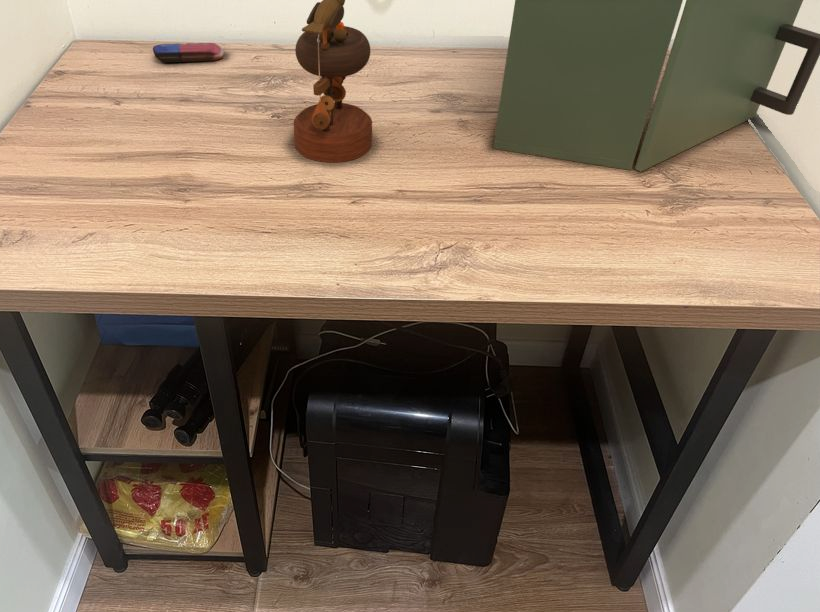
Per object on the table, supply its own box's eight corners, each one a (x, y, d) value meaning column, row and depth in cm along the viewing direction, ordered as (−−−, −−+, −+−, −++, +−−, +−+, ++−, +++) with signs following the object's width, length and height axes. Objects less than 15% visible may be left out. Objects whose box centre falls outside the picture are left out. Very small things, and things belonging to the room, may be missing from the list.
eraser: (223, 52, 120) (222, 41, 119) (224, 61, 117) (223, 50, 116) (154, 53, 118) (153, 42, 117) (153, 63, 115) (151, 52, 114)
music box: (373, 170, 92) (361, 6, 78) (289, 173, 93) (263, 12, 79) (379, 116, 103) (369, -36, 89) (303, 119, 104) (283, -31, 90)
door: (793, 132, 100) (882, -62, 83) (679, 191, 88) (756, -20, 71) (748, 114, 104) (825, -74, 87) (634, 168, 92) (697, -36, 75)
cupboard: (639, 88, 110) (691, -94, 93) (631, 170, 92) (694, -37, 75) (522, 72, 114) (552, -105, 97) (492, 148, 96) (523, -53, 79)
